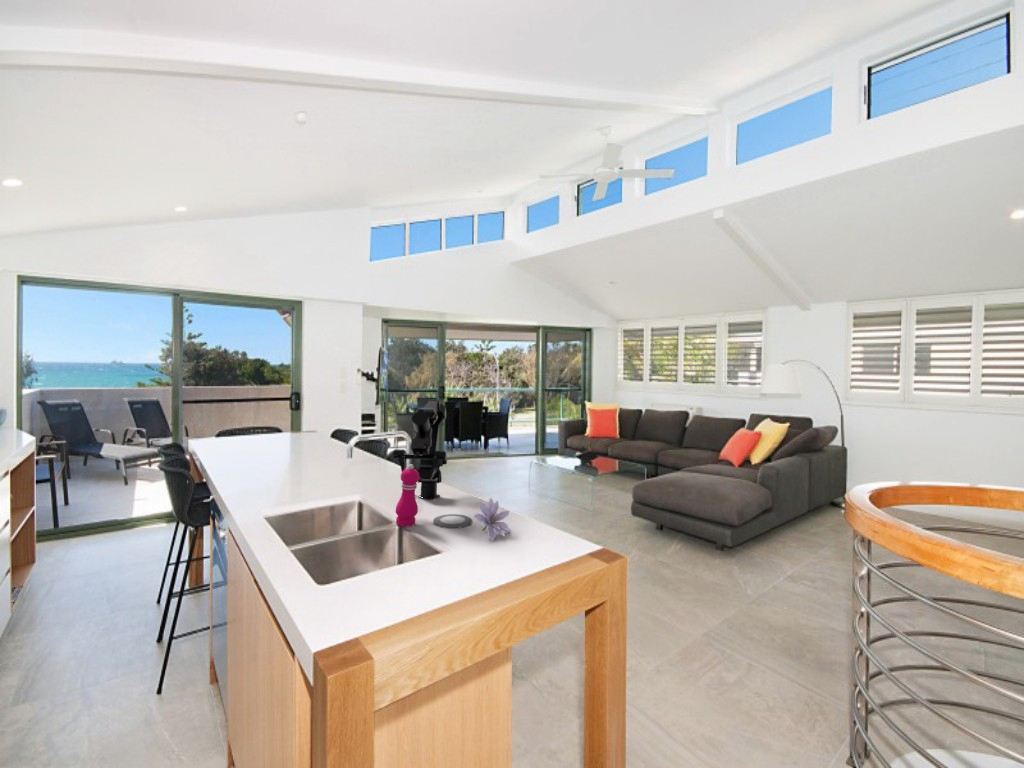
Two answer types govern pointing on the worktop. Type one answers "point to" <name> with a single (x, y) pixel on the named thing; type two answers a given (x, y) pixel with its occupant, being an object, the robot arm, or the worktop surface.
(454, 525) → the mat
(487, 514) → the water lily
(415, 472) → the pepper mill
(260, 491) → the worktop surface
